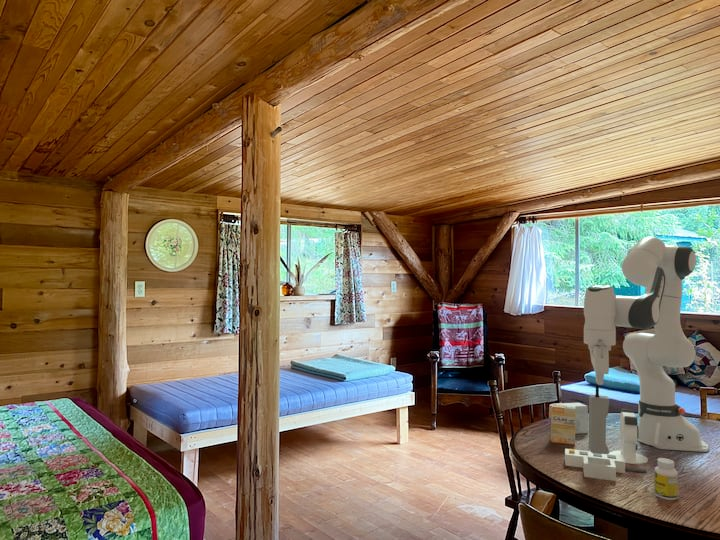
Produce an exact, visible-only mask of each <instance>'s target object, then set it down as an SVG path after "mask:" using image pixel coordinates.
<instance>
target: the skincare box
mask: <svg viewBox="0 0 720 540" xmlns="http://www.w3.org/2000/svg"><path fill="white" fill-rule="evenodd" d="M554 404H557V405H567V406H575V408H576V421H575V435H576V434H577V435H578V434H589V405H586V404H585V403H582V402H563V403H561V402H560V403H558V402H557V403H554Z"/></svg>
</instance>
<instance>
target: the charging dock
mask: <svg viewBox="0 0 720 540" xmlns="http://www.w3.org/2000/svg"><path fill="white" fill-rule="evenodd" d="M564 465H565V466H567V467H573V468H582V470H583V476H584V478H589V479H590V478H591V479H596V480H597V479H598V480H605V481H611V482H617V473H620V474H626V471H630V472H638V473H644V474H646V473H647V469H645V468H638V467H629V466H626V463H625V460H624V457H623V455H615V454H599V453H592V452H591V451H590V450H589V451H588V450H581V449H574V448H565V449H564Z"/></svg>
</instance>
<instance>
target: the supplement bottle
mask: <svg viewBox="0 0 720 540" xmlns="http://www.w3.org/2000/svg"><path fill="white" fill-rule="evenodd" d="M654 495H655V496H656V497H658V498H661V499H663V500H667V501H675V500H677V499H678V497H679V496H678V495H679V494H678V471H677V470H676V469H675V461H674V460H672V459H669V458H664V457H659V458H657V466H655V467H654Z"/></svg>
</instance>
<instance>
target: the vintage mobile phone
mask: <svg viewBox="0 0 720 540" xmlns="http://www.w3.org/2000/svg"><path fill="white" fill-rule="evenodd" d="M599 387H600V385H598V384H597V383H596V382H595V395H593V394H590V395H588V450H589V451H590V452H592V453H599V454H609V453H610V450H609V448H608V445H607V443H606V442H607V440H606V439H607V434H606V433H607V418H608V416H609V407H610V398H609V397H608V396H607V395H600V393H599V392H600V389H599Z"/></svg>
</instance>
